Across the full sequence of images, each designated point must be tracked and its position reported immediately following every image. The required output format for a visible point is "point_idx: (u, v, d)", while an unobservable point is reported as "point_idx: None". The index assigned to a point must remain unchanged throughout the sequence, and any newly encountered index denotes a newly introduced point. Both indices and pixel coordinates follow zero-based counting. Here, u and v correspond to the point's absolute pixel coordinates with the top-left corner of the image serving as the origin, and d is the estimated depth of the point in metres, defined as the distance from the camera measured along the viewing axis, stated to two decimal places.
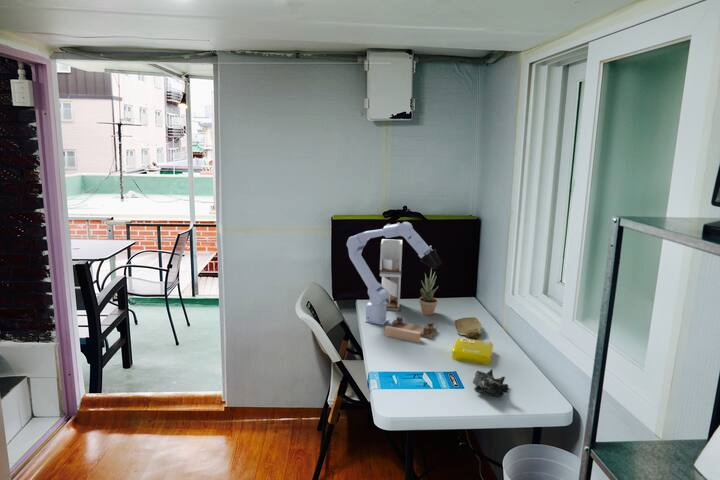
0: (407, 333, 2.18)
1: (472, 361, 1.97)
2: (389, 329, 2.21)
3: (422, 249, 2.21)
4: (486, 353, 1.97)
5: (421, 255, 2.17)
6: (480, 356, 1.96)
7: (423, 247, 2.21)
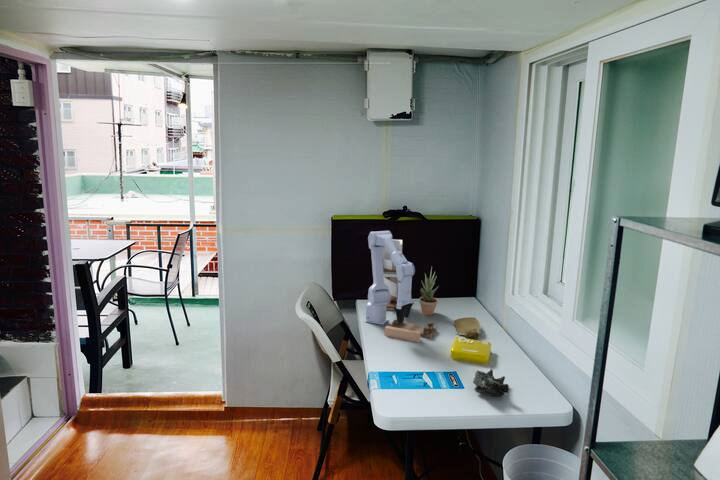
0: (407, 333, 2.18)
1: (471, 361, 1.97)
2: (389, 329, 2.21)
3: (403, 300, 2.14)
4: (485, 353, 1.97)
5: (398, 307, 2.11)
6: (479, 356, 1.96)
7: (406, 299, 2.14)
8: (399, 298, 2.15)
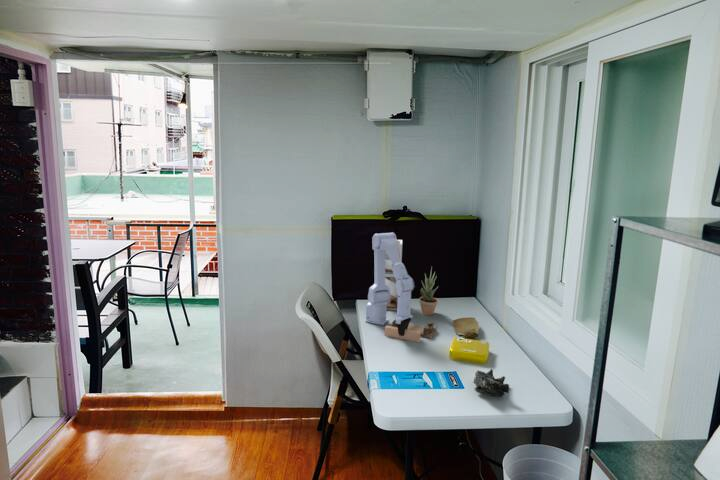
0: (407, 333, 2.18)
1: (470, 361, 1.97)
2: (389, 329, 2.21)
3: (403, 314, 2.16)
4: (483, 352, 1.97)
5: (398, 322, 2.12)
6: (478, 355, 1.96)
7: (405, 313, 2.15)
8: (398, 313, 2.17)
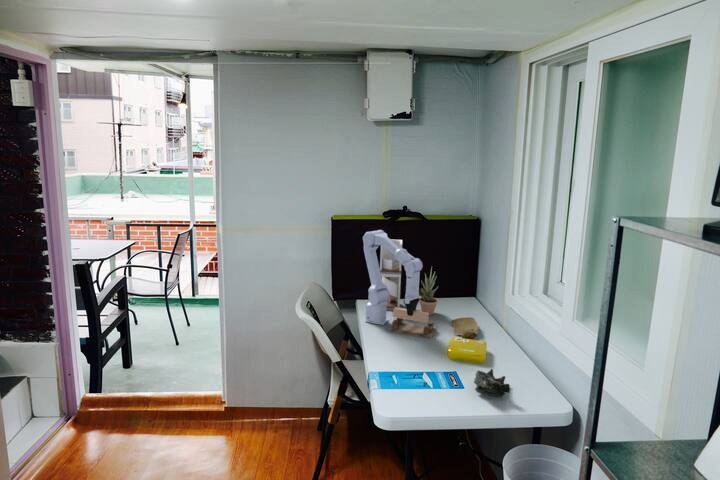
0: (415, 314, 2.23)
1: (468, 360, 1.98)
2: (397, 310, 2.26)
3: (411, 295, 2.21)
4: (482, 352, 1.98)
5: (407, 301, 2.17)
6: (476, 355, 1.96)
7: (414, 294, 2.21)
8: (407, 293, 2.22)
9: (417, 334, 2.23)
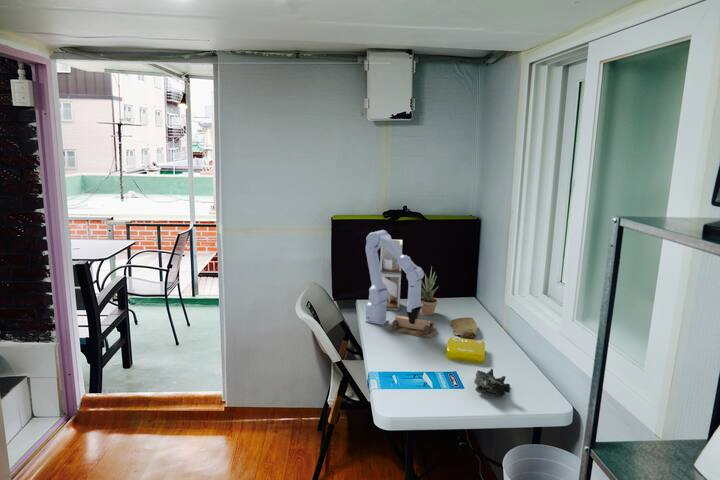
0: (417, 322, 2.26)
1: (467, 360, 1.98)
2: (399, 319, 2.29)
3: (413, 303, 2.23)
4: (480, 352, 1.98)
5: (409, 310, 2.20)
6: (475, 355, 1.96)
7: (415, 302, 2.23)
8: (409, 301, 2.25)
9: (417, 334, 2.23)
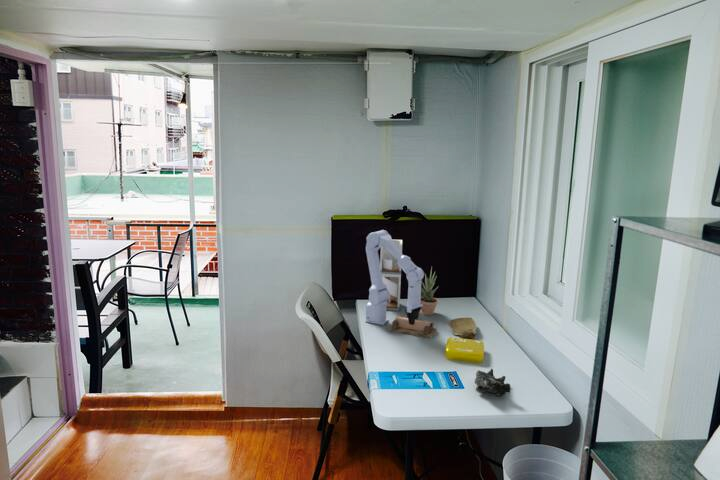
0: (417, 323, 2.26)
1: (466, 360, 1.98)
2: (399, 319, 2.29)
3: (413, 303, 2.24)
4: (479, 352, 1.98)
5: (409, 310, 2.20)
6: (474, 355, 1.97)
7: (415, 303, 2.23)
8: (409, 302, 2.25)
9: (417, 334, 2.23)
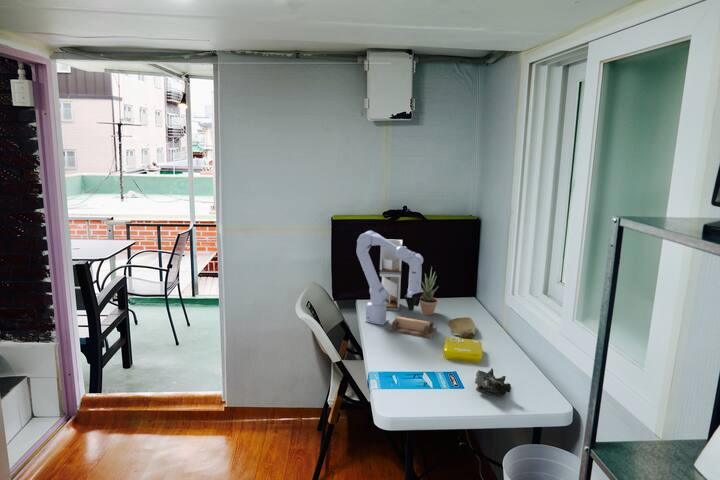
0: (417, 323, 2.26)
1: (464, 360, 1.98)
2: (399, 319, 2.29)
3: (414, 289, 2.28)
4: (478, 351, 1.98)
5: (409, 295, 2.24)
6: (473, 354, 1.97)
7: (416, 288, 2.28)
8: (410, 287, 2.29)
9: (417, 334, 2.23)
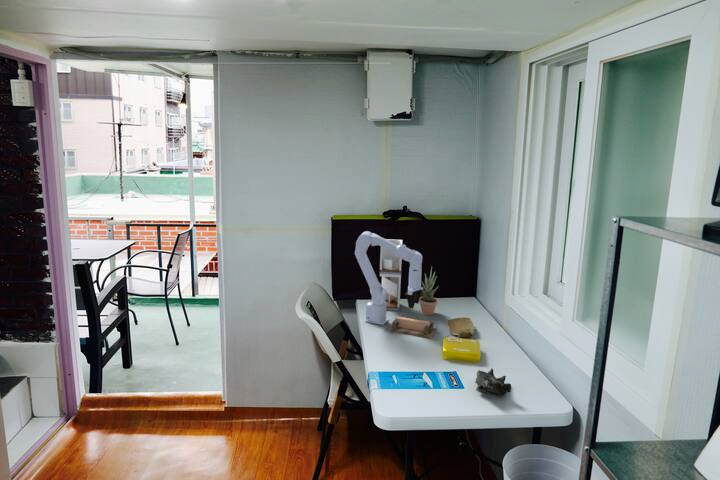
0: (417, 323, 2.26)
1: (463, 360, 1.98)
2: (399, 319, 2.29)
3: (414, 286, 2.31)
4: (476, 351, 1.98)
5: (410, 293, 2.27)
6: (471, 354, 1.97)
7: (416, 285, 2.31)
8: (410, 285, 2.32)
9: (417, 334, 2.23)
